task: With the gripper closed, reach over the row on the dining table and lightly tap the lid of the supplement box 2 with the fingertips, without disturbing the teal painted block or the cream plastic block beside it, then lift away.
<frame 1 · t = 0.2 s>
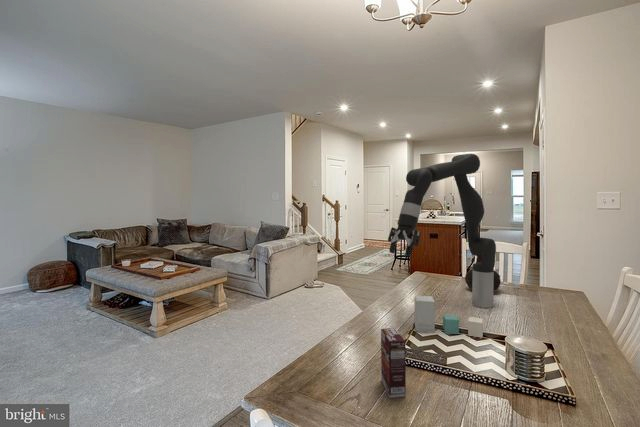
hand: (399, 254, 130), 31 cm above the table, tool tilted 20°, fingers open, 8 cm apart
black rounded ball: (482, 291, 184), on the table
supplement box 2: (424, 329, 133), on the table
teal block: (450, 332, 130), on the table
cream block: (475, 334, 127), on the table
supplement box: (392, 389, 92), on the table
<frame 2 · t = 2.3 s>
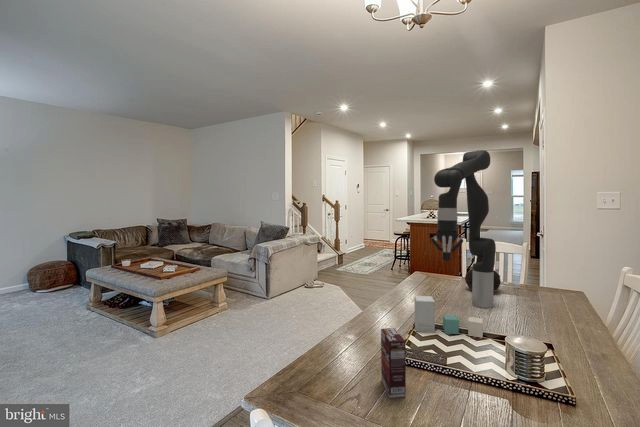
hand: (446, 261, 134), 27 cm above the table, tool pointing down, fingers closed
nothing on the table moved.
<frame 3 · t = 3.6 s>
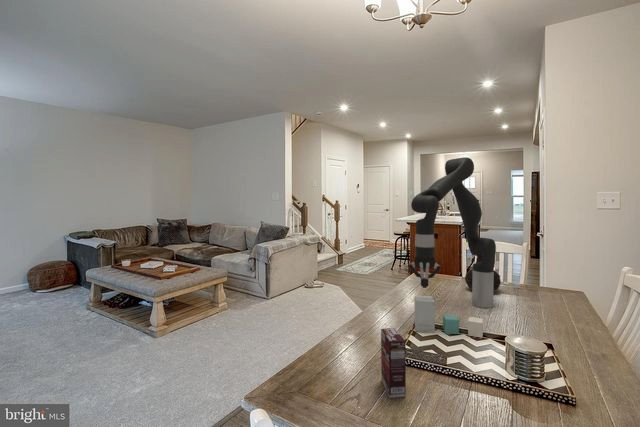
hand: (424, 287, 132), 17 cm above the table, tool pointing down, fingers closed
nothing on the table moved.
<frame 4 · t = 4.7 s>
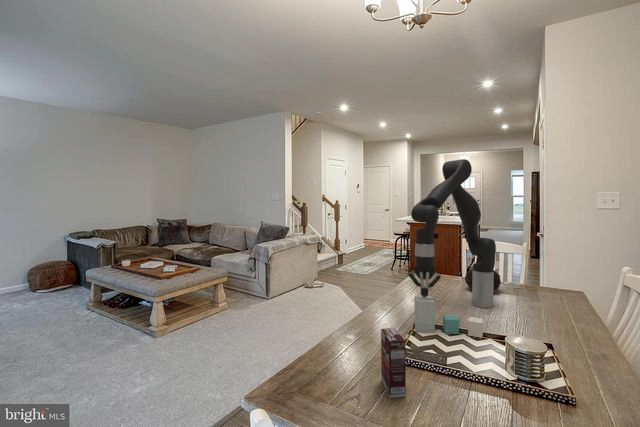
hand: (424, 296, 132), 13 cm above the table, tool pointing down, fingers closed
nothing on the table moved.
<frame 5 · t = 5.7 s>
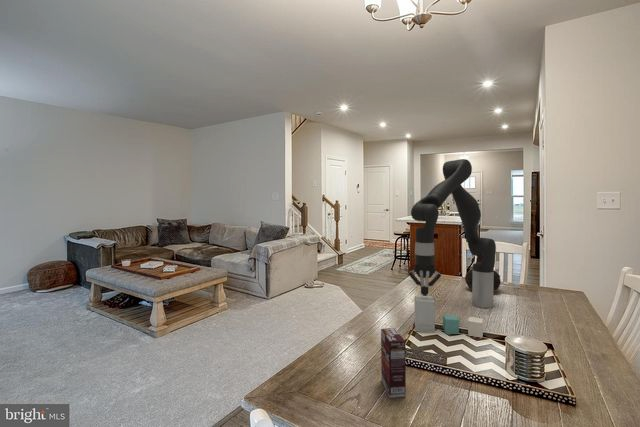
hand: (424, 295, 132), 14 cm above the table, tool pointing down, fingers closed
nothing on the table moved.
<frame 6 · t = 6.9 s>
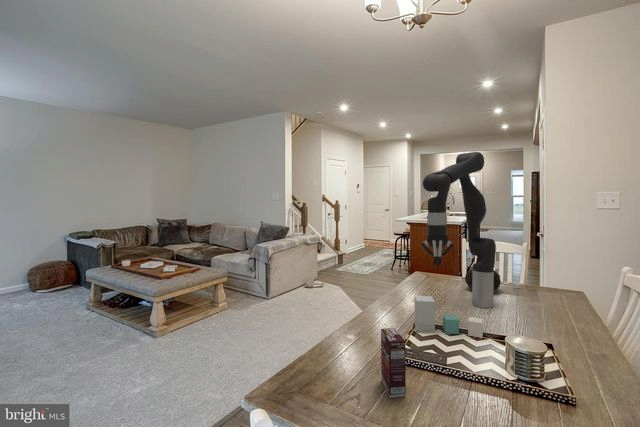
hand: (437, 265, 134), 26 cm above the table, tool pointing down, fingers closed
nothing on the table moved.
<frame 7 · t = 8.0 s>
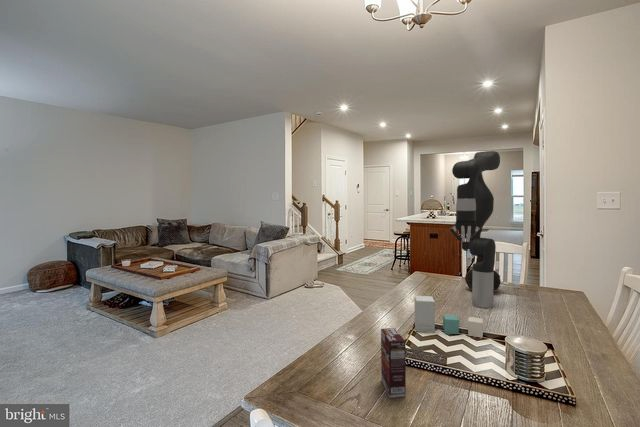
hand: (465, 250, 137), 31 cm above the table, tool pointing down, fingers closed
nothing on the table moved.
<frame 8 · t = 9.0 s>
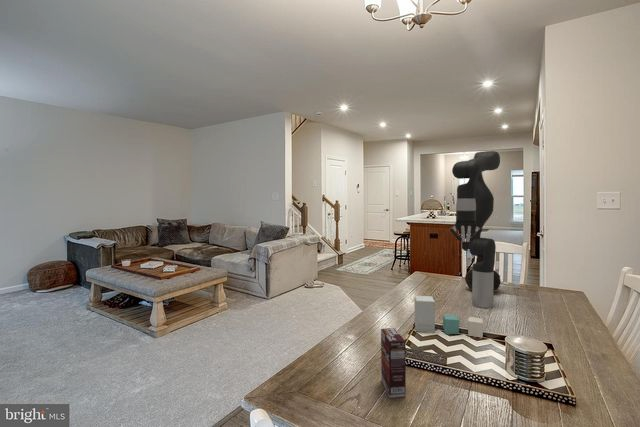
hand: (465, 250, 137), 31 cm above the table, tool pointing down, fingers closed
nothing on the table moved.
at the end: supplement box 2 tilted 0°; supplement box 2 moved 0.2 cm from its start; teal block moved 0.1 cm from its start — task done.
